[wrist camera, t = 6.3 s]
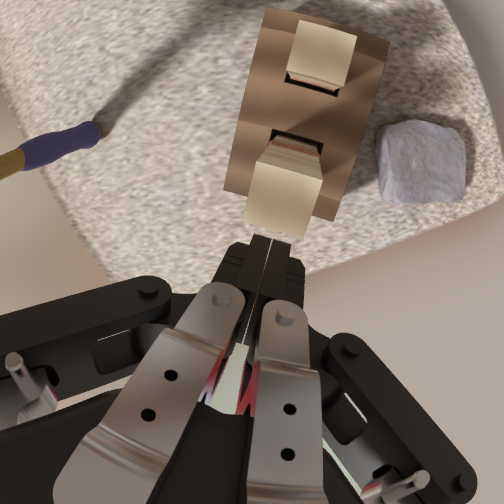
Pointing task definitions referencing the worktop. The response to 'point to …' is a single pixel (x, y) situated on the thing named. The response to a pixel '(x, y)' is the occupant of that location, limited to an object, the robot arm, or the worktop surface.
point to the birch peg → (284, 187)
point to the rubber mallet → (49, 148)
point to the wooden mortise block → (305, 108)
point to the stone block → (420, 163)
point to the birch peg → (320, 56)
